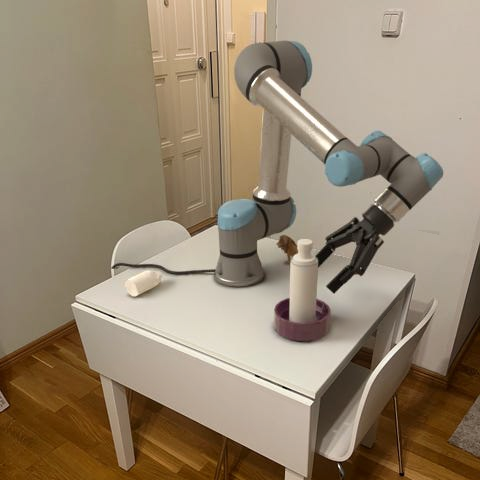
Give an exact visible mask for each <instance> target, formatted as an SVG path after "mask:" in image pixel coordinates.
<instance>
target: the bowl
mask: <svg viewBox="0 0 480 480" xmlns="http://www.w3.org/2000/svg"><path fill="white" fill-rule="evenodd" d="M289 309H290V297H286V298H284V299H282V300H280V301H279V302H277V303H276V304H275V306H274V309H273V326H274V330H275V331H276V332H277V333H278V335H280V336H282V337H283V338H285V339H289V340H292V341H299V342H307V341H308V342H309V341H314V340H319V339H320V338H321V339H322V337H324V336H326V335H327V334H328V332H330V326H331V313H332V310H331V308H330V305H329V304H328V303H326V302H325V301H323V300H320V299H319V298H316V316H315V322H311V323H296V322H292V321H289Z"/></svg>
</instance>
